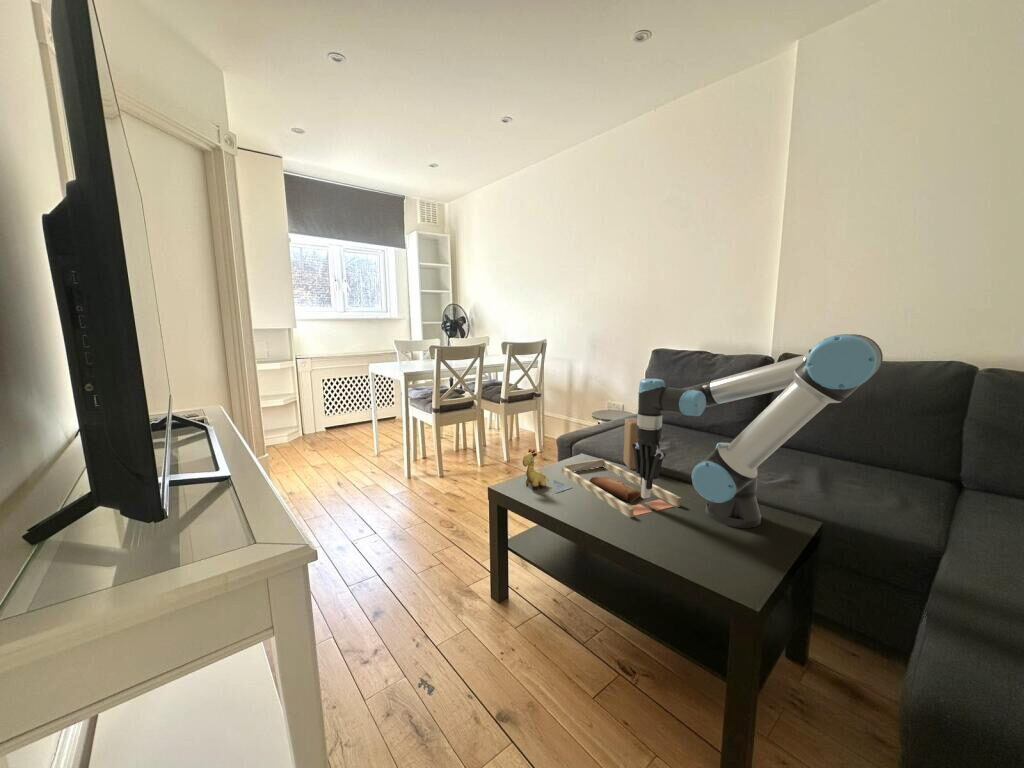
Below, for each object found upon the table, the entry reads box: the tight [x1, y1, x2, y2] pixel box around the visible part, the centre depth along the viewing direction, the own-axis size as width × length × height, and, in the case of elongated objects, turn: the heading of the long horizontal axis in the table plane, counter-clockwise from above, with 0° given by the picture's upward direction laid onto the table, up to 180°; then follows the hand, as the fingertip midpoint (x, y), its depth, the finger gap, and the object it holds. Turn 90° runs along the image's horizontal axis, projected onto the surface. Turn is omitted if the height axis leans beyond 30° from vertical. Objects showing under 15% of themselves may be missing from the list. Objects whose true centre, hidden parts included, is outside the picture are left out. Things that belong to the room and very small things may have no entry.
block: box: [623, 417, 638, 471], centre depth 169 cm, size 10×10×20 cm
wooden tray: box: [561, 458, 682, 519], centre depth 146 cm, size 41×21×4 cm, turn 23°
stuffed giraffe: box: [522, 448, 572, 496], centre depth 146 cm, size 16×18×16 cm
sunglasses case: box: [588, 476, 641, 503], centre depth 143 cm, size 18×7×7 cm
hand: (645, 497), depth 132 cm, fingers closed
